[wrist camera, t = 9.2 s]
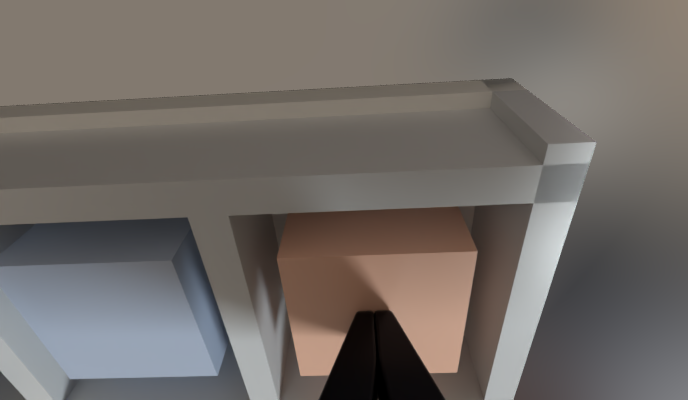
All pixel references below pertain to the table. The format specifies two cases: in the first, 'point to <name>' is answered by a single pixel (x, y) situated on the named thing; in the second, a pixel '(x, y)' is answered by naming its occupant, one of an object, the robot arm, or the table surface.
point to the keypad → (298, 211)
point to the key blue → (117, 298)
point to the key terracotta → (377, 279)
